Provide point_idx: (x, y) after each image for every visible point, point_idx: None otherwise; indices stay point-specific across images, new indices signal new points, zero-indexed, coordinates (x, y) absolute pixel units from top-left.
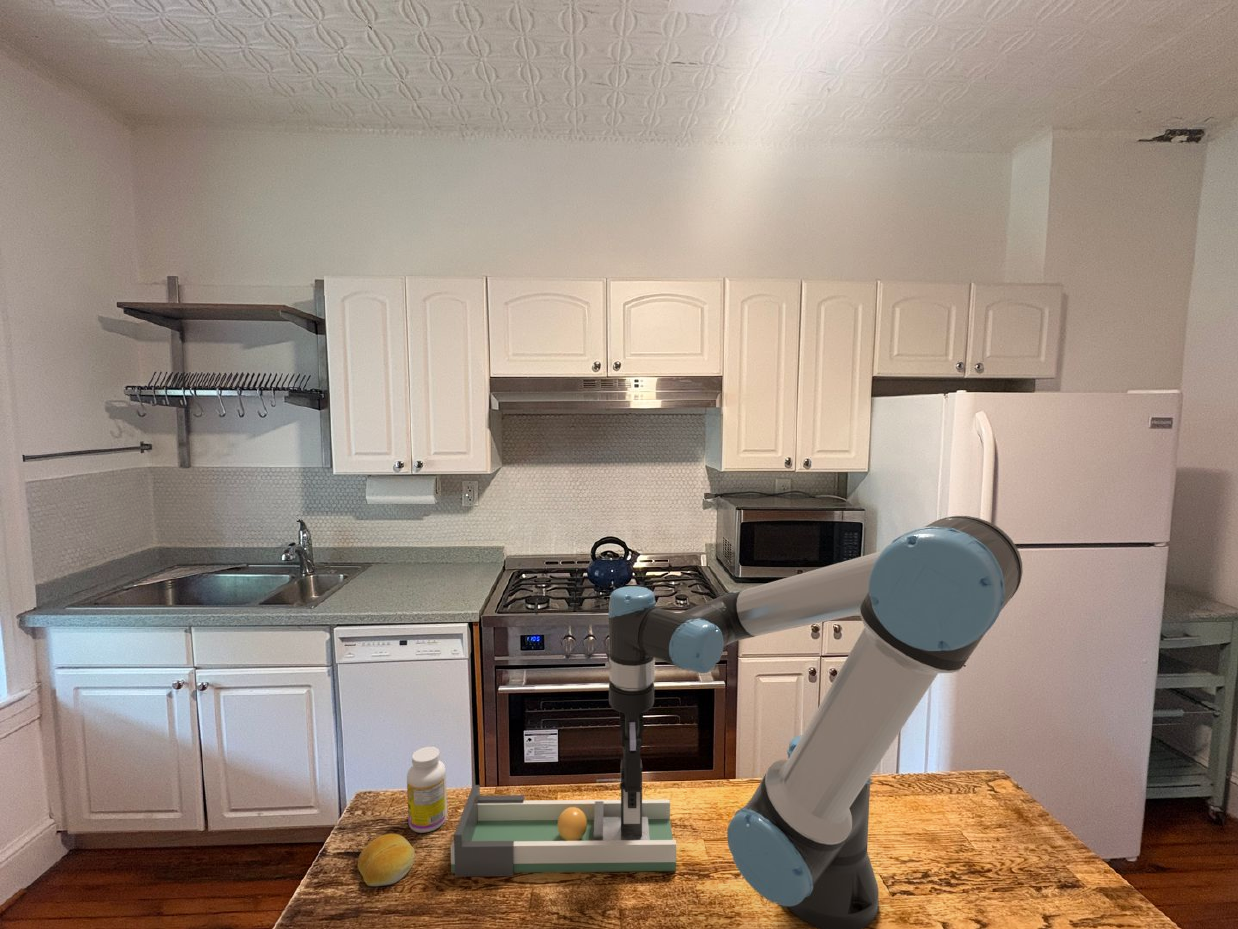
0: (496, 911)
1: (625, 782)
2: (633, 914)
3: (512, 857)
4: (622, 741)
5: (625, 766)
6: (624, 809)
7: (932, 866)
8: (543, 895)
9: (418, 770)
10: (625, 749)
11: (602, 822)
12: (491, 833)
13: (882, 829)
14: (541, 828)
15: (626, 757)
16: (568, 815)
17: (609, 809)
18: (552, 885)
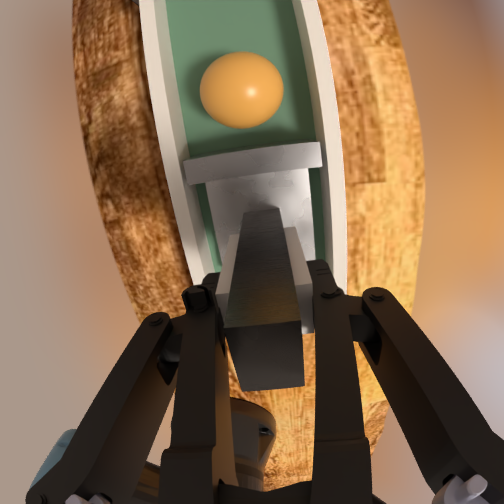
0: (83, 32)
1: (128, 346)
2: (116, 241)
3: (137, 3)
4: (163, 478)
5: (94, 402)
6: (226, 254)
7: (268, 465)
8: (116, 83)
9: None
10: (46, 475)
11: (231, 176)
12: None
13: (312, 454)
14: (266, 20)
15: (73, 443)
16: (220, 78)
17: (325, 177)
18: (138, 89)
